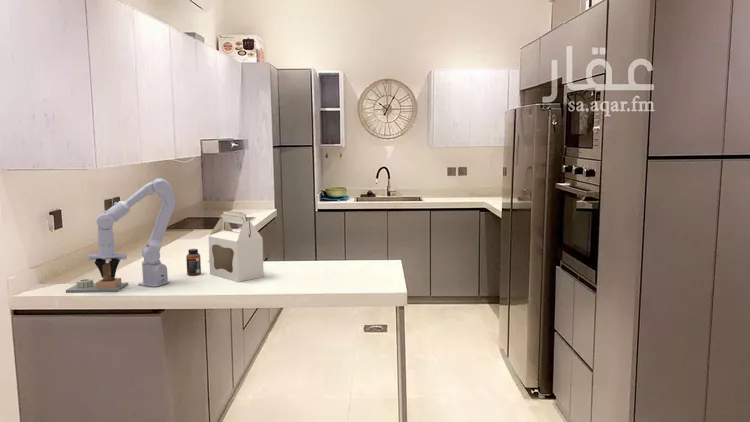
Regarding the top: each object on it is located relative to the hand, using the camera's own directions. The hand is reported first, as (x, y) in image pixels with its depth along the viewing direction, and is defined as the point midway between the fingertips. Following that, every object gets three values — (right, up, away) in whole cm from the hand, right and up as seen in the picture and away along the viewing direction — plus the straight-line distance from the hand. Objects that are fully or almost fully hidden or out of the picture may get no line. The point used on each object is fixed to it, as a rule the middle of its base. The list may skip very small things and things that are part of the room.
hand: (108, 277), depth 229 cm
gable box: (+46, -2, +22) cm, 51 cm away
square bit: (0, -3, +1) cm, 3 cm away
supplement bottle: (+27, -2, +24) cm, 36 cm away
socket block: (-5, -5, 0) cm, 7 cm away
